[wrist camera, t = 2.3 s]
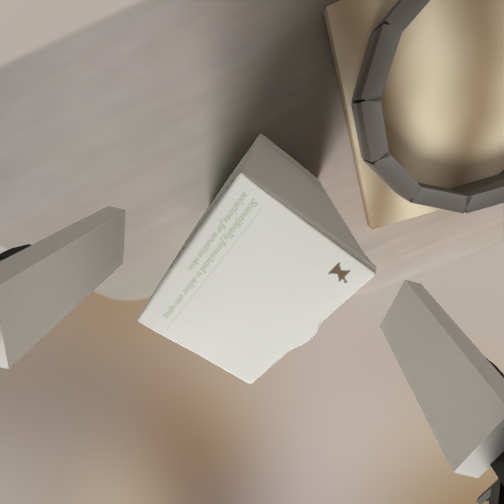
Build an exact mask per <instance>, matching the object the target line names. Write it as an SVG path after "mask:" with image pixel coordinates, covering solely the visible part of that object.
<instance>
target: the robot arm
mask: <svg viewBox="0 0 504 504" xmlns="http://www.w3.org/2000/svg"><path fill="white" fill-rule="evenodd" d="M124 229H125V210H123V209H119V208H115V207H110V206H108V207H106V208H104V209H102V210H100V211H98V212H96V213H94V214H92V215H90V216H88V217H86V218H84V219H82V220H80V221H78V222H76V223H74V224H72V225H70V226H69V227H67V228H65V229H63V230H61V231H59V232H57V233H55V234H53V235H51V236H49V237H47V238H45V239H43V240H41V241H39V242H37V243H35V244H33V245H30V244H28V245H24V246H20V247H16V248H12V249H9V250H7V251H5V252H3V253H1V254H0V367H2V368H6V369H9V368H10V367H11V366H12V365H14V364H15V363H16V362H17V361H18V360H19V359H20V358H21V357H22V356H23V355H24V354H25V353H26V352H27V351H29V349H31V348H32V347H33V346H34V345H35V344H36V343H37V342H38V341H39V340H41V339H42V338H43V337H44V336H45V335H46V334H47V333H48V332H49V331H50V330H51V329H52V328H53V327H54V326H55V325H57V324H58V323H59V322H60V321H61V320H62V319H63V318H64V317H65V316H66V315H67V314H69V312H71V311H72V310H73V309H74V308H75V307H76V306H77V305H78V304H79V303H80V302H81V301H83V300H84V299H85V298H86V297H87V296H88V295H89V294H90V293H91V292H92V291H93V290H94V289H95V288H97V287H98V286H99V285H100V284H101V283H102V282H103V281H104V280H105V279H106V278H107V277H108V276H110V275H111V274H112V273H113V272H114V271H115V270H116V269H117V268H118V267H119V266H120V265H121V264H122V263H123V249H124ZM380 327H381V329H382V330H383V333H384V335H385V336H386V339H387V341H388V343H389V345H390V347H391V349H392V351H393V353H394V355H395V357H396V359H397V361H398V363H399V365H400V367H401V368H402V371H403V373H404V374H405V377H406V379H407V381H408V383H409V385H410V387H411V389H412V391H413V393H414V395H415V397H416V399H417V401H418V403H419V405H420V406H421V409H422V411H423V413H424V415H425V417H426V419H427V421H428V423H429V425H430V427H431V428H432V431H433V433H434V435H435V437H436V439H437V441H438V442H439V444H440V446H441V449H442V451H443V452H444V455H445V456H446V459H447V460H448V462H449V464H450V466H451V469H452V471H453V472H454V473H459V474H463V475H467V476H471V477H476V478H479V477H480V476H481V475H482V474H483V473H484V472H485V471H486V470H487V469H488V468H489V467H490V466H491V467H492V468H493V470H494V471H495V473H496V475H497V476H498V478H499V479H498V480H497V481H496V482H495V483H494V484H492V486H490V487H489V488H488V489H487V490H486V491H485V492H484V493H483V494H482V495H481V496H479V498H478V499H477V501H476V502H477V503H479V504H482V503H483V502H485V501H489V504H504V375H503V373H502V372H501V371H500V370H499V369H498V368H497V367H496V366H495V365H494V364H493V363H492V362H491V361H489V360H488V359H487V358H486V357H485V356H484V355H483V354H482V353H481V352H480V351H479V350H478V348H477V347H476V346H475V345H474V344H473V343H472V342H471V340H470V339H469V338H468V337H467V336H466V335H465V334H464V332H463V331H462V330H461V329H460V328H459V327H458V326H457V324H455V322H454V321H453V320H452V319H451V318H450V317H449V315H448V314H447V313H446V312H445V311H444V310H443V309H442V307H441V306H440V305H439V304H438V303H437V302H436V301H435V299H434V298H433V297H432V296H431V295H430V294H429V293H428V292H427V290H426V289H425V288H424V287H423V286H422V285H421V284H419V283H415V282H411V281H407V280H405V281H404V283H403V284H402V286H401V288H400V290H399V292H398V294H397V296H396V298H395V299H394V301H393V303H392V305H391V307H390V309H389V310H388V313H387V314H386V316H385V318H384V320H383V322H382V323H381V325H380Z"/></svg>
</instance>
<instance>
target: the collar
mask: <svg viewBox="0 0 504 504" xmlns="http://www.w3.org/2000/svg"><path fill="white" fill-rule="evenodd" d="M324 17H325V22H326V26H327V31H328V36H329V41H330V46H331V51H332V55H333V60H334V65H335V70H336V75H337V79H338V84H339V89H340V94H341V99H342V104H343V108H344V113H345V118H346V123H347V128H348V132H349V137H350V142H351V147H352V152H353V157H354V161H355V166H356V171H357V176H358V181H359V185H360V190H361V195H362V200H363V205H364V209H365V214H366V219H367V224H368V226H369V227H370V228H371V229H375V228H378V227H382V226H385V225H389V224H392V223H396V222H399V221H402V220H406V219H409V218H413V217H416V216H420V215H423V214H427V213H430V212H433V211H437V210H440V209H445V210H450V211H455V212H460V213H464V212H466V213H469V212H472V211H476V210H479V209H483V208H486V207H490V206H494V205H497V204H501V203H504V0H340V1H338V2H335V3H333V4H331V5H329V6H327V7H326V9H325V11H324Z"/></svg>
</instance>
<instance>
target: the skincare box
mask: <svg viewBox="0 0 504 504" xmlns="http://www.w3.org/2000/svg"><path fill="white" fill-rule="evenodd" d="M375 273H376V266H375V265H374V264H373V263H372V262H371V261H370V260H369V259H368V257H367V256H366V255H365V254H364V252H363V251H362V249H361V248H360V246H359V245H358V243H357V241H356V240H355V238H354V237H353V235H352V233H351V232H350V230H349V229H348V227H347V225H346V224H345V222H344V221H343V219H342V217H341V216H340V214H339V213H338V211H337V209H336V208H335V206H334V204H333V203H332V201H331V200H330V198H329V196H328V195H327V193H326V192H325V190H324V188H323V187H322V185H321V183H320V182H319V180H318V178H316V177H315V176H314V175H313V174H312V173H310V172H309V171H308V170H307V169H306V168H304V167H303V166H302V165H301V164H300V163H298V162H297V161H296V160H295V159H293V158H292V157H291V156H290V155H288V154H287V153H286V152H285V151H283V150H282V149H281V148H279V147H278V146H277V145H276V144H274V143H273V142H272V141H271V140H269V139H268V138H267V137H265V136H264V135H263V134H259V135H258V137H257V138H256V140H255V141H254V142H253V144H252V145H251V147H250V148H249V150H248V151H247V152H246V154H245V155H244V157H243V158H242V159H241V161H240V162H239V164H238V165H237V166H236V168H235V169H234V171H233V172H232V174H231V175H230V177H229V178H228V179H227V181H226V182H225V184H224V185H223V187H222V188H221V190H220V191H219V193H218V194H217V195H216V197H215V198H214V200H213V201H212V203H211V204H210V206H209V207H208V209H207V210H206V212H205V213H204V215H203V216H202V218H201V219H200V220H199V222H198V223H197V225H196V227H195V228H194V230H193V231H192V233H191V234H190V236H189V237H188V239H187V240H186V242H185V244H184V245H183V247H182V248H181V250H180V251H179V253H178V255H177V256H176V258H175V259H174V261H173V263H172V264H171V266H170V267H169V269H168V271H167V272H166V274H165V275H164V277H163V279H162V280H161V282H160V283H159V285H158V287H157V288H156V290H155V291H154V293H153V295H152V296H151V298H150V299H149V301H148V303H147V304H146V306H145V308H144V309H143V311H142V313H141V314H140V316H139V318H138V321H139V322H140V323H142V324H143V325H145V326H147V327H149V328H150V329H152V330H154V331H155V332H157V333H159V334H161V335H163V336H165V337H166V338H168V339H170V340H172V341H174V342H176V343H178V344H179V345H181V346H183V347H185V348H187V349H189V350H191V351H193V352H194V353H196V354H198V355H200V356H202V357H203V358H205V359H207V360H209V361H210V362H212V363H214V364H216V365H217V366H219V367H221V368H223V369H224V370H226V371H228V372H229V373H231V374H233V375H235V376H236V377H238V378H240V379H242V380H243V381H245V382H247V383H249V384H252V383H254V382H255V380H256V379H258V378H259V377H260V376H261V375H262V374H263V373H264V372H266V371H267V370H268V369H269V368H270V367H271V366H273V365H274V364H275V363H276V362H277V361H278V360H280V359H281V358H282V357H283V356H284V355H285V354H287V353H288V352H289V351H290V350H291V349H292V348H296V347H299V346H301V345H303V344H305V343H306V342H307V341H308V340H310V339H311V338H312V337H313V336H314V335H315V334H316V333H317V330H318V328H319V326H320V324H321V322H322V321H323V320H324V319H326V318H327V317H328V316H329V315H330V314H331V313H333V312H334V311H335V310H336V309H337V308H338V307H339V306H340V305H341V304H342V303H343V302H345V301H346V300H347V299H348V298H349V297H350V296H351V295H353V294H354V293H355V292H356V291H357V290H358V289H360V288H361V287H362V286H363V285H364V284H365V283H367V282H368V281H369V280H370V279H371V278H372V277H373V276H374V275H375Z"/></svg>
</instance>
